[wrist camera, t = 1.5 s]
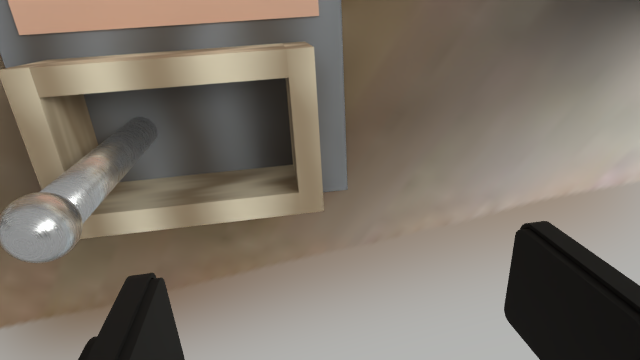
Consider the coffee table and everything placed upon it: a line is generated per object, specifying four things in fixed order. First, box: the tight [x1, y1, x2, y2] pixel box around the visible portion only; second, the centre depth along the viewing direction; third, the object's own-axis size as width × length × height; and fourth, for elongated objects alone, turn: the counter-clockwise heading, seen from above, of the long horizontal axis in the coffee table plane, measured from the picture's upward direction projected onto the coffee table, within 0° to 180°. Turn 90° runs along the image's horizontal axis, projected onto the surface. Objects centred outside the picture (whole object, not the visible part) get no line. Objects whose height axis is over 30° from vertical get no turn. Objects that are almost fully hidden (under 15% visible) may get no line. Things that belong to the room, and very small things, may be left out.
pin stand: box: [0, 0, 348, 263], centre depth 18 cm, size 21×26×16 cm
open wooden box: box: [0, 42, 324, 239], centre depth 25 cm, size 16×10×5 cm, turn 93°
